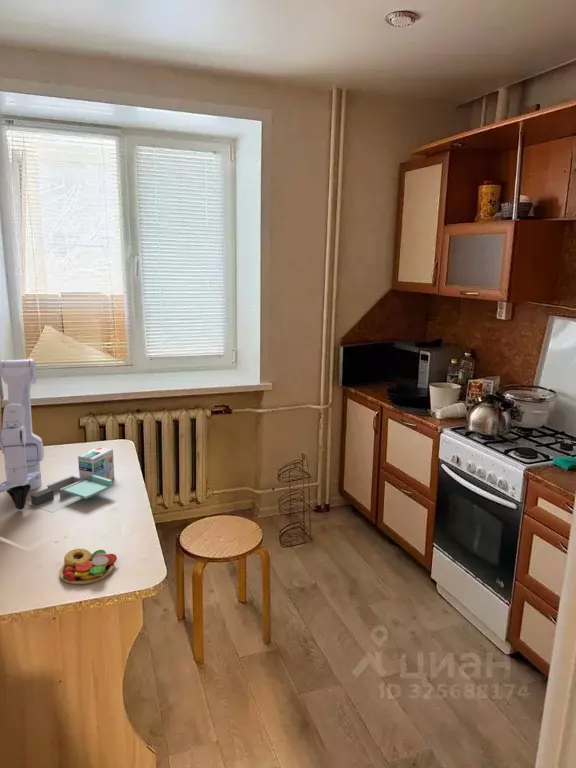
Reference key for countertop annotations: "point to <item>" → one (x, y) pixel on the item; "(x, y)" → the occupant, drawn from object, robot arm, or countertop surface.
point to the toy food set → (86, 566)
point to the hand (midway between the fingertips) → (20, 508)
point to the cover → (90, 486)
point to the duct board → (60, 494)
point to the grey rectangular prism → (42, 497)
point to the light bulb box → (97, 463)
